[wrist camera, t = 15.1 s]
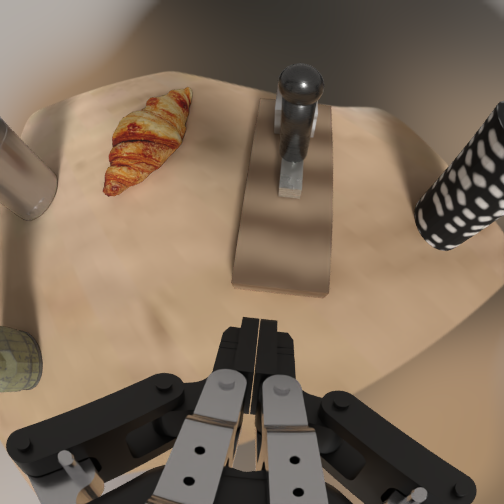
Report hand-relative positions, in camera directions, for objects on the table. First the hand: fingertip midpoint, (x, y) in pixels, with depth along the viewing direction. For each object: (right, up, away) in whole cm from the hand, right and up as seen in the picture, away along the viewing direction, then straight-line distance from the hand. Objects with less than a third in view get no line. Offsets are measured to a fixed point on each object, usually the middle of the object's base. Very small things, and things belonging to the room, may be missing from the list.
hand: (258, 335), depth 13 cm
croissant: (-14, +19, +28) cm, 37 cm away
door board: (+4, +11, +24) cm, 27 cm away
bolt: (+5, +15, +22) cm, 27 cm away
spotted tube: (+25, +8, +22) cm, 35 cm away
